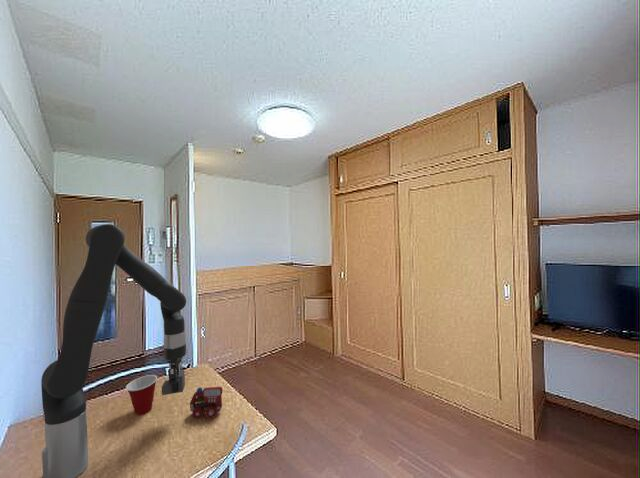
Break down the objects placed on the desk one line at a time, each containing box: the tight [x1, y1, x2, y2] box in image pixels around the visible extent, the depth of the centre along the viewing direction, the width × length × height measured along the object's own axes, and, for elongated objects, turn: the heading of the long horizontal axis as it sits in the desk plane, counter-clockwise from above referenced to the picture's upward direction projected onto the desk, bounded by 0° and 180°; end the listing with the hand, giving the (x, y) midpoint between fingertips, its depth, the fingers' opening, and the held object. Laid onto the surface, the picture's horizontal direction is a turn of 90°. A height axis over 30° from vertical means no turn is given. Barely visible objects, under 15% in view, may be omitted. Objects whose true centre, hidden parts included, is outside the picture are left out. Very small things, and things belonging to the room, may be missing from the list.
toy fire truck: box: [189, 386, 223, 420], centre depth 111 cm, size 7×12×10 cm, turn 90°
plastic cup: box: [125, 374, 158, 416], centre depth 114 cm, size 11×11×12 cm
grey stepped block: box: [161, 369, 186, 396], centre depth 108 cm, size 7×5×6 cm
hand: (176, 387), depth 108 cm, fingers closed on grey stepped block, 5 cm apart
